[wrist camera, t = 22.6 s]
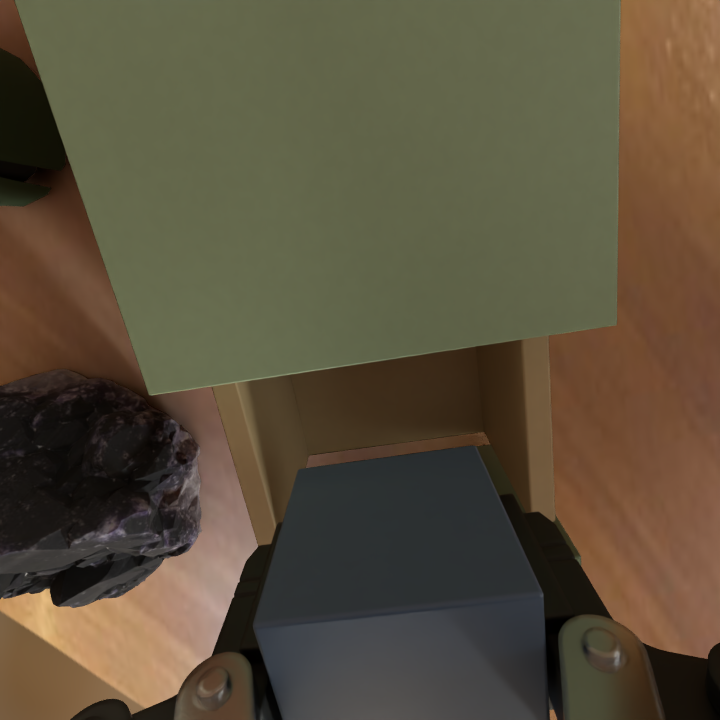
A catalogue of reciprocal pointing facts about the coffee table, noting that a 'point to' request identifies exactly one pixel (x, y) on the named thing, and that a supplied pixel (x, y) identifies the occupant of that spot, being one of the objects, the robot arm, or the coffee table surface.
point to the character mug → (25, 133)
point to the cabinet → (339, 173)
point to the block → (402, 596)
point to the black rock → (90, 488)
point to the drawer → (396, 420)
